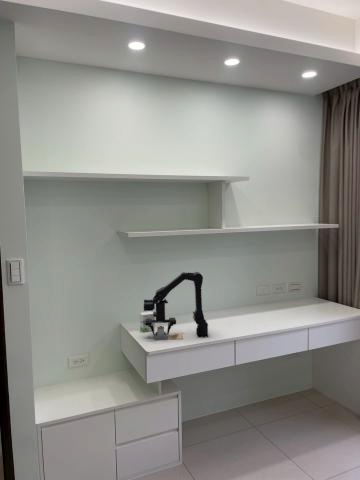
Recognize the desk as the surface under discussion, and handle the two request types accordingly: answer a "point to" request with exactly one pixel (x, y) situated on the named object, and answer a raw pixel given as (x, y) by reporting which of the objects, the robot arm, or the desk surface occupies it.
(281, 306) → the desk surface
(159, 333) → the cable plug
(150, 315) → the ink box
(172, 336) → the cork pad
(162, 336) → the grey square frame
